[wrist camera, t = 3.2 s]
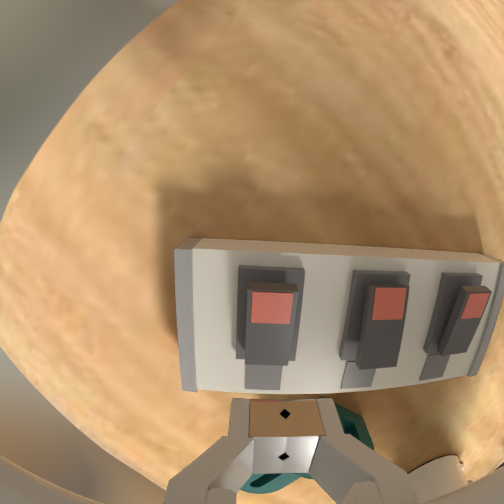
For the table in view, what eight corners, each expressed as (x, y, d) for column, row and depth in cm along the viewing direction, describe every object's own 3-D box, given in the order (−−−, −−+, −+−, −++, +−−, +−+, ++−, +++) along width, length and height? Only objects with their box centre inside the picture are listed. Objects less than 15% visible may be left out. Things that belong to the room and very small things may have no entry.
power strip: (457, 355, 26) (478, 377, 22) (192, 362, 27) (181, 393, 22) (483, 253, 24) (512, 265, 19) (188, 237, 24) (172, 250, 19)
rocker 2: (391, 361, 20) (396, 367, 19) (355, 364, 20) (359, 370, 19) (403, 283, 19) (410, 286, 18) (366, 283, 19) (371, 286, 18)
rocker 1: (286, 356, 21) (287, 366, 20) (245, 355, 21) (244, 365, 20) (296, 283, 18) (298, 292, 17) (248, 281, 18) (247, 290, 17)
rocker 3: (461, 345, 20) (466, 352, 19) (436, 348, 20) (441, 356, 19) (485, 285, 18) (492, 291, 17) (460, 286, 18) (468, 292, 17)
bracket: (320, 394, 28) (335, 449, 20) (361, 416, 28) (381, 465, 21) (224, 470, 31) (218, 517, 23) (264, 485, 32) (264, 529, 24)
